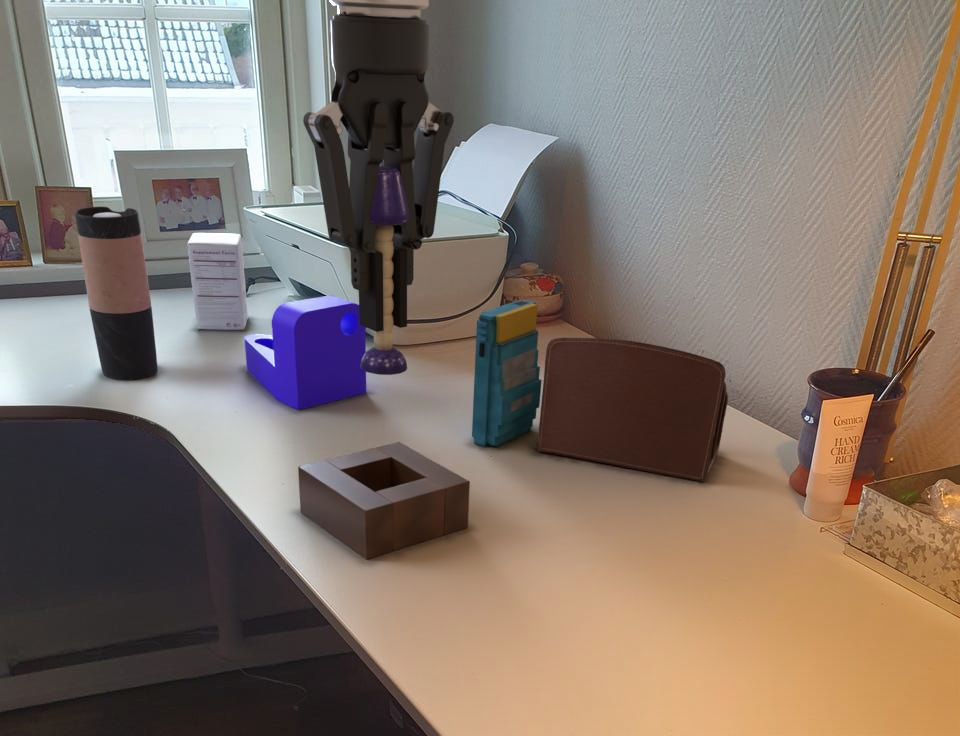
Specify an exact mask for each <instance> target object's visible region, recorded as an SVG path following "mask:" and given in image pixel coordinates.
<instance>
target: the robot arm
mask: <svg viewBox="0 0 960 736" xmlns="http://www.w3.org/2000/svg"><path fill="white" fill-rule="evenodd" d="M329 2H330V3H331V5H332V6H337V14H333V16H332V19H330V40H331V43H330V44H331V45H330V46H331V64H332V67H333V71H334V76H335V77H334V83H333V87H332V89H331V93H330V102H329V103H327V104H326V105H325V106H323V107H322V108H321V109H320V110H318V111H316V112H312V111H308V112H306V113H305V114H304V115H303V117H302V119H303V120H302V122H303V126H304V128H305V130H306V132H307V133H308V137H309V138H310V141H311V143H312V145H313V149H314V154H315V160H316V166H317V167H316V168H317V172H318V178H319V184H320V191H321V198H322V204H323V209H324V216H325V222H326V227H327V234H328V238H329V240H330V241H331V242H333V243H336V244H339V245H342V246H345V247H347V248H348V250H349V253H350V275H351V276H350V282H351V286H352V288H353V289H355V290H357V291H358V305H359V323H360V325H362V326H364V327H365V329H366V328H367V329H369V330H371V331H374V332H375V331H376V332H379V331H384V322H383V253H382V252H379V251H376V250H373V249H374V246H375V231H376V225H373V224H371V223H370V214H371V209H372V204H373V200H374V195H375V191H376V187H377V183H378V179H379V166H381V164H382V163H383V166H390V167H394V168H397V169H398V170H399V172H400V175H401V179H402V183H403V187H404V191H405V195H406V199H407V203H408V208H409V213H410V219H409V221H408V222H407V223H404V224H399V225H393V228H394V234H393V238H392V240H391V241H392V243H393V247H394V253H393V257H392V259H391V260H392V262H393V266H394V271H393V275H392V280H393V283H394V291H393V294H392V298H393V302H394V308H393V311H392V313H391V314H392V316H393V321H394V324H393V326H395V327H397V328H399V329H403V328H407V327H408V286H412V284H413V281H414V274H415V273H414V264H415V263H414V259H415V258H414V252H415V250H419V249H420V248H422V245H423V239H429V238H431V237H433V236H434V232H435V224H436V217H437V209H438V202H439V201H438V200H439V194H440V186H441V178H442V170H443V163H444V155H445V154H444V153H445V146H446V142H447V140H448V137H449V135H450V133H451V129H452V127H453V125H454V120H455V119H454V115H453V113H451V112H450V111H445V110H441V109H439V108H438V107H436V106H435V105H434V104H433V103H431V102H430V95H429V92H428V89H427V86H426V82H425V75H426V72H427V71H428V69H429V64H430V61H429V58H430V57H429V56H430V55H429V54H430V52H429V51H430V50H429V49H430V24H429V23H427V19H425V18H422V10H423V11H424V10H426V9H428V7H429V6H430V0H329ZM341 124H342V126H343V128H344V130H345V131H346V133H347V157H348V158H349V161H350V163H349V177H348V170H347V169H348V168H347V163H346V157H345V150H344V145H343V143H342V139H341V137H340V136H341V135H342V134H343V132H344V131H343V128H342V126H341ZM417 129H419V130H418V132H417V137H416V142H415V132H416V130H417Z"/></svg>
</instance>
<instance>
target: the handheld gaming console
mask: <svg viewBox="0 0 960 736" xmlns="http://www.w3.org/2000/svg"><path fill="white" fill-rule="evenodd" d="M538 306H539V305H538V304H537V302H536V301H533V300H529V299H523V300H520V299H519V300H515V301H512V302H509V303H506V304H502V305H500V306H497V307H494V308H490V309H489V310H484V311H482V312H480V314H479V316H478V320H476V333H475V336H476V337H475V353H474V354H475V357H474V361H475V362H474V381H473V399H472V400H473V402H472V424H471V425H472V426H471V437H472V438H473V444H474V445H477V446H480V447H482V448H483V447H484V448H486V447H487V446H489V447H492V448H498V447H500V446H502V445H504V444H506V443H508V442H510V441H512V440H514V439H516V438H518V437H520V436H522V435H524V434H526V433H529V432H530V431H531V430H532V428H533V425H534V420H535V419H537V410H538V409H539V408H540V406H541V405H540V404H541V403H540V402H541V394H542V393H541V391H542V379H540V372H541V366H538V363H539V362H538V361H539V352H540V351H539V349H538V342H539V341H538V339H539V331H538V330H537V321H538V320H537V318H538Z"/></svg>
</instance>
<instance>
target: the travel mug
mask: <svg viewBox="0 0 960 736" xmlns="http://www.w3.org/2000/svg"><path fill="white" fill-rule="evenodd" d="M74 217H75V224H76V230H77V238H78V243H79V250H80V257H81V263H82V270H83V276H84V283H85V289H86V296H87V301H88V308H89V313H90V319H91V324H92V329H93V333H94V339H95V343H96V348H97V353H98V358H99V363H100V368H101V372H102V375H103V376H104V377H107V378H109V379H112V380H120V381H122V380H123V381H131V380H141V379H146V378H149V377H152V376H154V375H155V374H157V372H158V370H159V369H158V358H157V357H158V356H157V347H156V337H155V328H154V317H153V309H152V307H153V306H152V299H151V292H150V285H149V277H148V271H147V263H146V258H145V252H144V251H145V249H144V242H143V235H142V229H141V228H142V227H141V222H140V215H139V211H138V210H136V209H134V208H131V207H128V208H126V209H125V210H124V211H115V210H112V209H111V208H110V207H108V206H90V207H89V206H88V207H83V208H79V209H77V210H75V212H74Z"/></svg>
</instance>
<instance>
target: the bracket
mask: <svg viewBox="0 0 960 736" xmlns="http://www.w3.org/2000/svg"><path fill="white" fill-rule="evenodd" d="M271 332H272V335H270V334H266V333H252V334H248V335H245V336H244V337H243V339H244V350H245V351H244V352H245V364H246V371H247V372H248V373H249V374H250V375H251V376H252V377H253V378H254V379H255V380H256V381H257V382H258V383H259V384H260V385H261V386H262V387H263V388H264V389H265V390H266V391H267V392H268V393H269V394H270V395H271V396H272V397H273V398H274V399H275V400H276V401H277V402H279V403H282V404H284V405H286V406H289V407H290V408H293V409H294V410H297V411H301V410H305V409H308V408H312V407H316V406H320V405H324V404H328V403H332V402H336V401H339V400H340V401H341V400H344V399H348V398H351V397H356V396H358V395H363V394H367V372H366V371H364V370H363V369H362V368H361V367H360V364H361V360H362V357H363V355H364V354H365V352H366V351H367V349H366V348H367V347H366V345H367V344H366V343H367V341H366V327H364V326H362V325H360V323H359V303H358V304H357V303H356V302H352V301H349V300H346V299H344V298H340V297H338V296H335V295H326V296H318V297H313V298H308V299H300V300H296V301H290V302H289V301H288V302H285V303H282V304H280V305H279V306H278V307H277V308H276V309H275V311H274V312H273V314H272V318H271Z"/></svg>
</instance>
